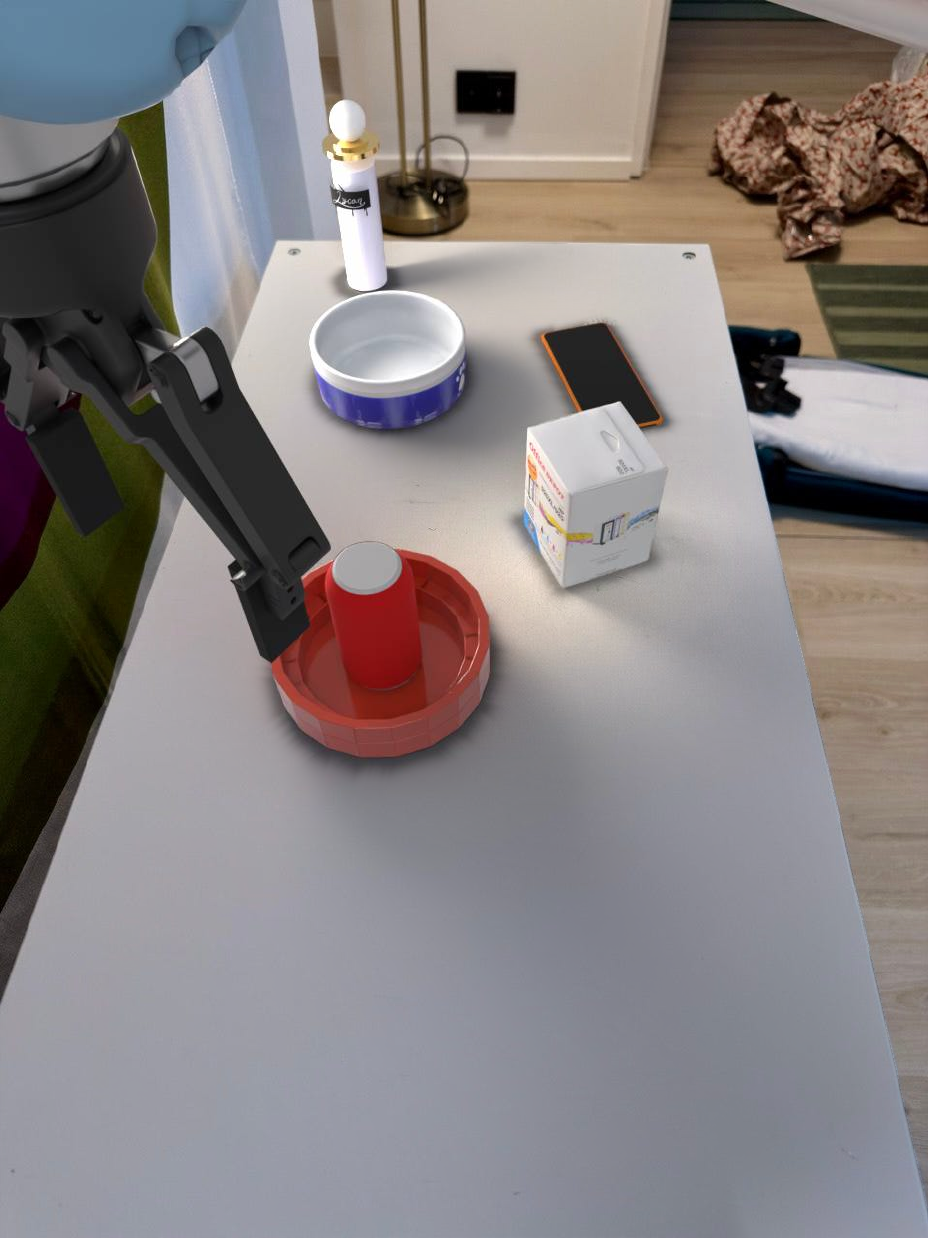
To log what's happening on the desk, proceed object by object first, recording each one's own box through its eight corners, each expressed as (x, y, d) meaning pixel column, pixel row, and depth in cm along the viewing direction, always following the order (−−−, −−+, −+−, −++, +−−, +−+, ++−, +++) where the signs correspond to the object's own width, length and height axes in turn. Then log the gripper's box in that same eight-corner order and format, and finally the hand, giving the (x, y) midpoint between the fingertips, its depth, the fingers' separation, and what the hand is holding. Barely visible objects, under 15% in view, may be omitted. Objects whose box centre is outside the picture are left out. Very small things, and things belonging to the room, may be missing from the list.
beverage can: (414, 701, 68) (401, 605, 59) (335, 691, 69) (310, 594, 60) (429, 637, 72) (419, 536, 62) (354, 628, 73) (333, 527, 63)
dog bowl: (347, 329, 98) (339, 280, 93) (482, 348, 96) (482, 298, 91) (297, 420, 90) (286, 370, 85) (444, 443, 87) (441, 394, 82)
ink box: (520, 524, 80) (523, 423, 71) (605, 498, 82) (619, 395, 73) (560, 594, 75) (570, 495, 66) (650, 564, 77) (672, 464, 68)
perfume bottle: (351, 268, 105) (326, 85, 89) (399, 273, 105) (381, 90, 89) (336, 296, 102) (307, 112, 86) (385, 302, 101) (365, 116, 85)
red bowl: (519, 725, 68) (521, 690, 64) (304, 790, 65) (292, 757, 61) (452, 567, 78) (450, 527, 74) (263, 617, 75) (250, 579, 71)
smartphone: (591, 440, 86) (592, 434, 86) (539, 339, 96) (539, 332, 96) (665, 425, 87) (666, 418, 87) (606, 326, 97) (607, 319, 96)
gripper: (-303, 94, 31) (-23, 515, 48) (186, 347, 22) (320, 760, 39) (-109, 21, 35) (88, 438, 52) (384, 212, 25) (427, 645, 42)
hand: (188, 577), depth 45 cm, fingers open, 13 cm apart
